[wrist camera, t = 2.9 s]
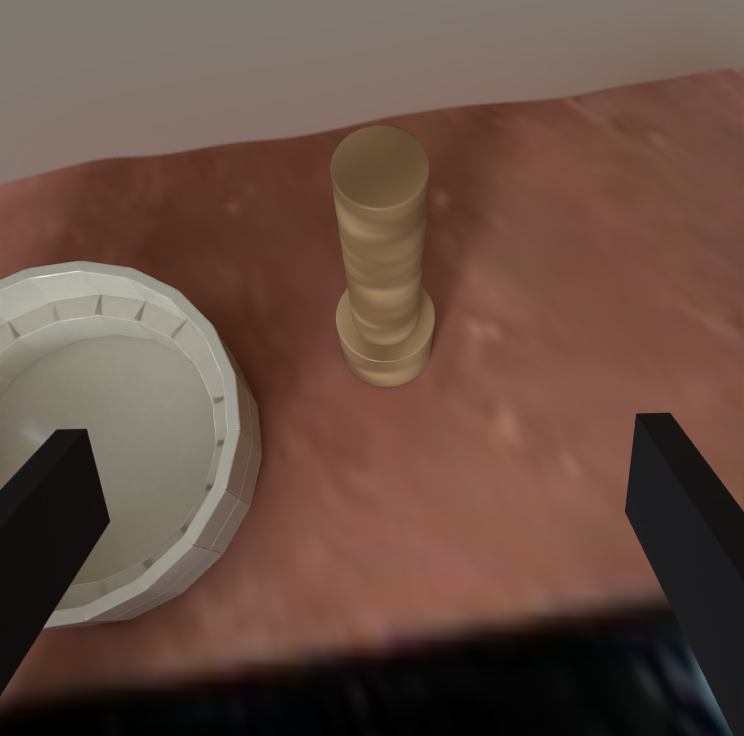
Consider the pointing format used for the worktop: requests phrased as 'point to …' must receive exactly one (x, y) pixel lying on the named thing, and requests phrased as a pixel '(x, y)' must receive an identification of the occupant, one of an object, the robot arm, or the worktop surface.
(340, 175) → the wooden masher
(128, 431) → the mixing bowl
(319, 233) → the worktop surface
